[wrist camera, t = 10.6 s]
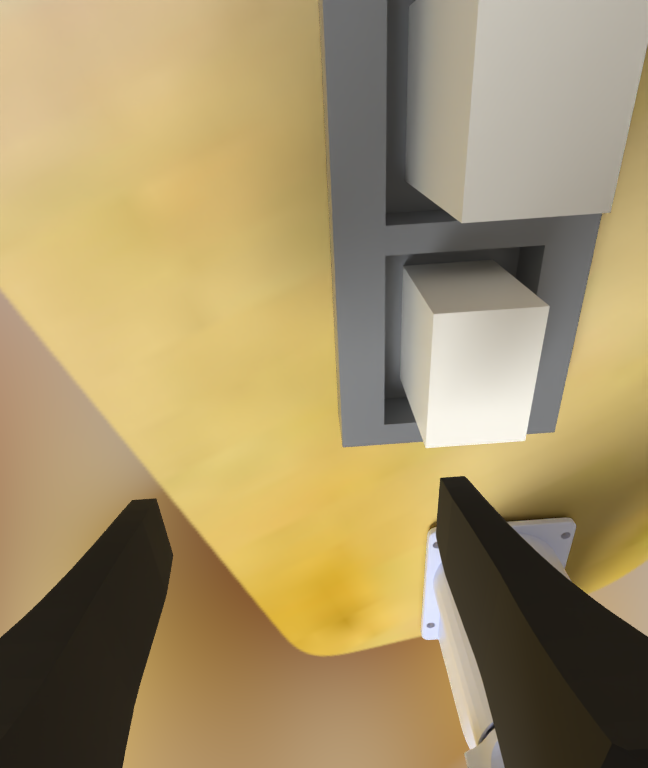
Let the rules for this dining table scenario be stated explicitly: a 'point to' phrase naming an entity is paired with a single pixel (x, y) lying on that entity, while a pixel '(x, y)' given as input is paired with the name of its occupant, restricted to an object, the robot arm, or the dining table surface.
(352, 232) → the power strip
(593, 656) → the robot arm
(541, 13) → the plug
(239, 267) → the dining table surface
